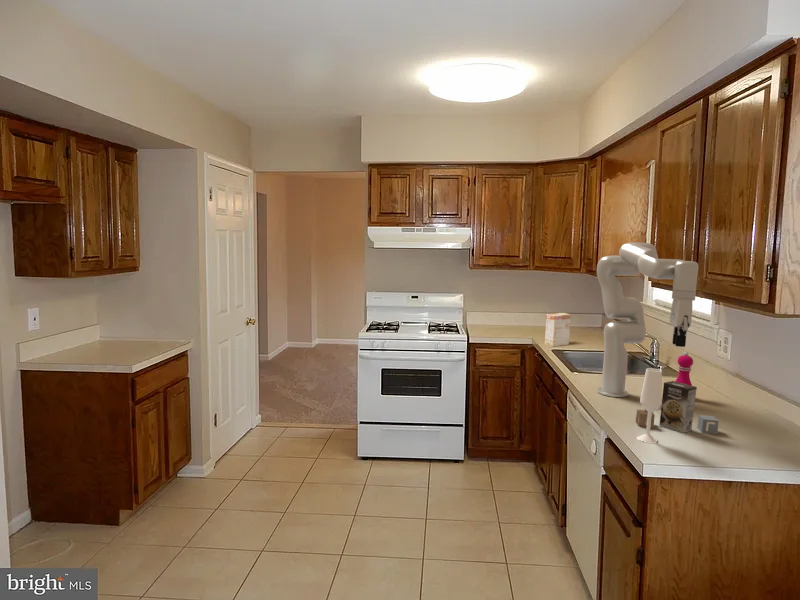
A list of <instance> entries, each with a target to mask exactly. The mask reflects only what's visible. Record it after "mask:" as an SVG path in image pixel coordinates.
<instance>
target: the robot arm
mask: <svg viewBox="0 0 800 600" xmlns="http://www.w3.org/2000/svg"><path fill="white" fill-rule="evenodd" d="M618 251H619V252H618V253H619V254H618V255H606V256H603V257H601V258H600V259H599V260H598V263H597V265H596V277H597V280H598V283H599V285H600V286H599V287H600V289H601V295H602V296H601V297H602V303H603V310H604V311H603V312H604V315H605V316H606V318H609V319H613V320H614V321H610V322H608V323H606V324H605V326H604V328H603V340H604V341H603V342H604V344H603V345H604V347H603V348H604V349H603V350H604V351H603V362H602V363H603V365H602V376H601V377H602V378H601V386H600V387H598V388H597V390H596V391H597V393H598V394H600V395H603V396H606V397H611V398H626V397H628V396H629V391H627V390H626V379H627V370H628V368H627V367H628V356H629V355H628V351H627V349H626V347H625V346H624V345H626V344H630V345H631V344H635V345H636V344H640V343H643V342H644V341H645V339H646V337H647V336H646V334H647V331H646V330H647V329H646V324H645V316H644V309H643V305H642V303H641V301H640V300H639V299H638V298H636V297H633V296H632V297H630V296H625V295H624V293H623V287H622V284H621V282H620V281H619V280H618V279H617V277H616V276H627V277H628V276H629V277H630V276H635V275H638V274H639V273H640V274H641V275H644V276H645V277H648V278H651V279H654V280H673V281H672V290H671V291H672V293H671V299H672V304H671V309H670V315H669V324H671V326H673V334H672V345H675V347H680V348H681V347H682V348H685V347H686V342H687V341H686V340H687V334H688V333H687V332H688V329H689V328H690V327H692V326H691V325H692V318H693V301H696V296H697V295H696V293H697V285H698V274H699V263H698V262H696V261H690V260H684V259H676V258H675V259H674V258H659V256H658V253H657V248H656V246H655V245H654V244H651V243H649V242H635V241H634V242H633V241H631V242H626V243H624V244H623V245H622V246H621V247H620V248H619V250H618ZM619 319H621V321H620V320H619ZM622 319H623V321H622ZM615 320H617V321H615ZM625 320H626V321H625Z"/></svg>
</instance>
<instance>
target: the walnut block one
mask: <svg viewBox="0 0 800 600" xmlns="http://www.w3.org/2000/svg"><path fill="white" fill-rule="evenodd" d="M647 418H648V411H647V410H646V409H645V408H644V409H641V408H640V409H639V408H636V414H635V423H636V426H638V427H641V428H647ZM654 425H655V413H654V412H652V416H651V427H650V429H651V428H652V429H654Z"/></svg>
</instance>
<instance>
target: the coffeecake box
mask: <svg viewBox="0 0 800 600" xmlns="http://www.w3.org/2000/svg"><path fill="white" fill-rule="evenodd" d="M571 318H572V314H570V313H566V312H556V313H546V320H545V333H544V334H545V335H544V346H548V347H560V346H561V347H563V346H569V343H570V333H571V320H572V319H571Z"/></svg>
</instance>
